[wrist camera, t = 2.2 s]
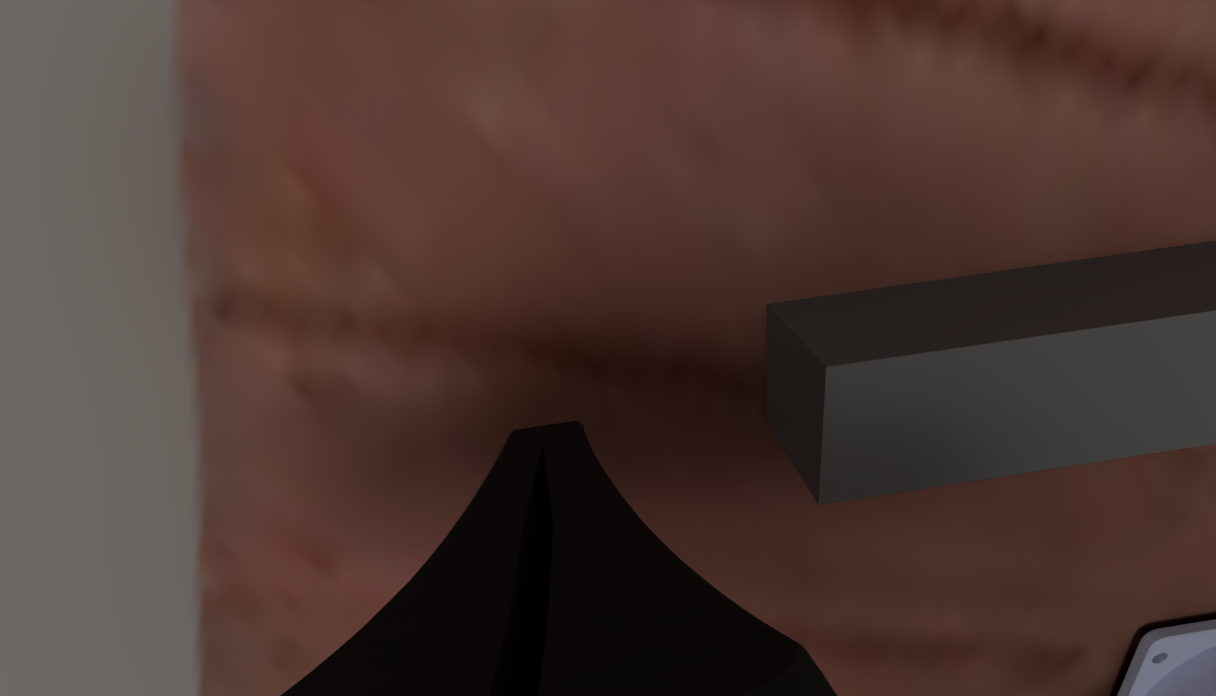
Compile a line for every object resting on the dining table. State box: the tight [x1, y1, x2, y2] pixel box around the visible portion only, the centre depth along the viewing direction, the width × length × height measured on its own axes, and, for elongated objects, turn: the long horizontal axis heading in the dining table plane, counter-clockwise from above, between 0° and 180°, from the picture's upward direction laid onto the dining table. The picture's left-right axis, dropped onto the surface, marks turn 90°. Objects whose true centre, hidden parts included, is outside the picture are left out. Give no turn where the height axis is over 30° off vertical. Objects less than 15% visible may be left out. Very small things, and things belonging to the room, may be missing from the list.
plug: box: [766, 241, 1216, 505], centre depth 12 cm, size 4×17×5 cm, turn 97°
